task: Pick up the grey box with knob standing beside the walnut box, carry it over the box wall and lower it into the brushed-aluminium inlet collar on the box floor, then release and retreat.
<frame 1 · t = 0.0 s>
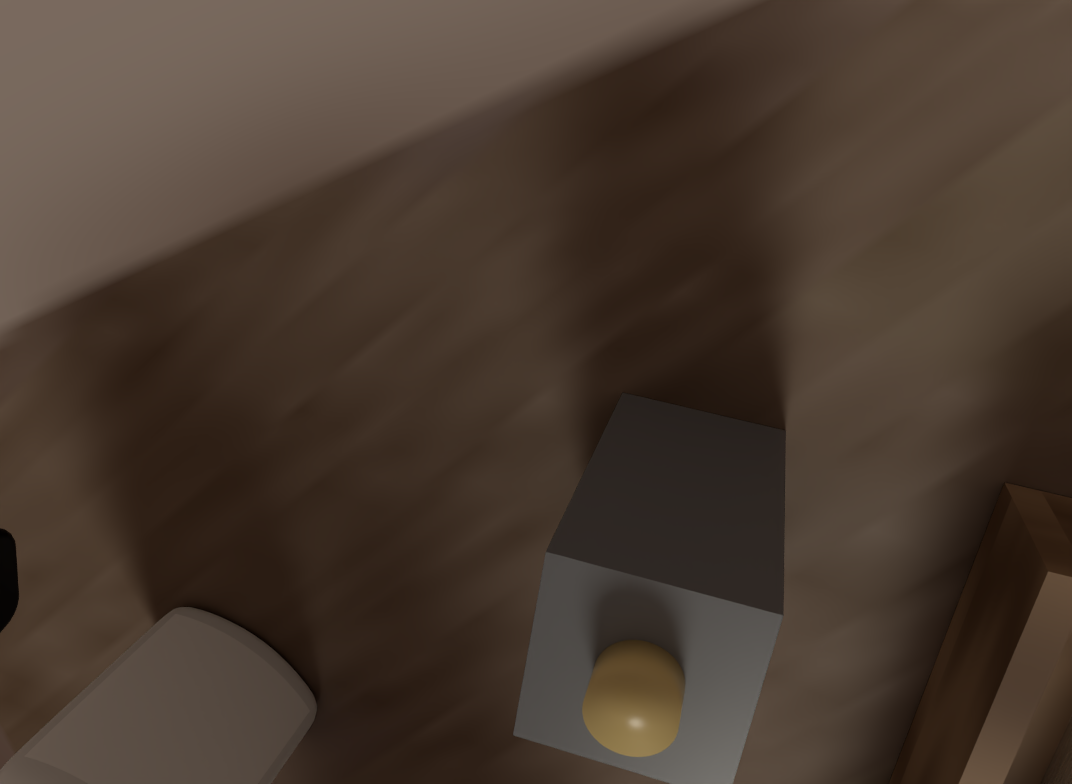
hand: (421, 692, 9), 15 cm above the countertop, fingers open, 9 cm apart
eye dropper bottle: (243, 666, 30), on the countertop
grey box with knob: (685, 483, 24), on the countertop
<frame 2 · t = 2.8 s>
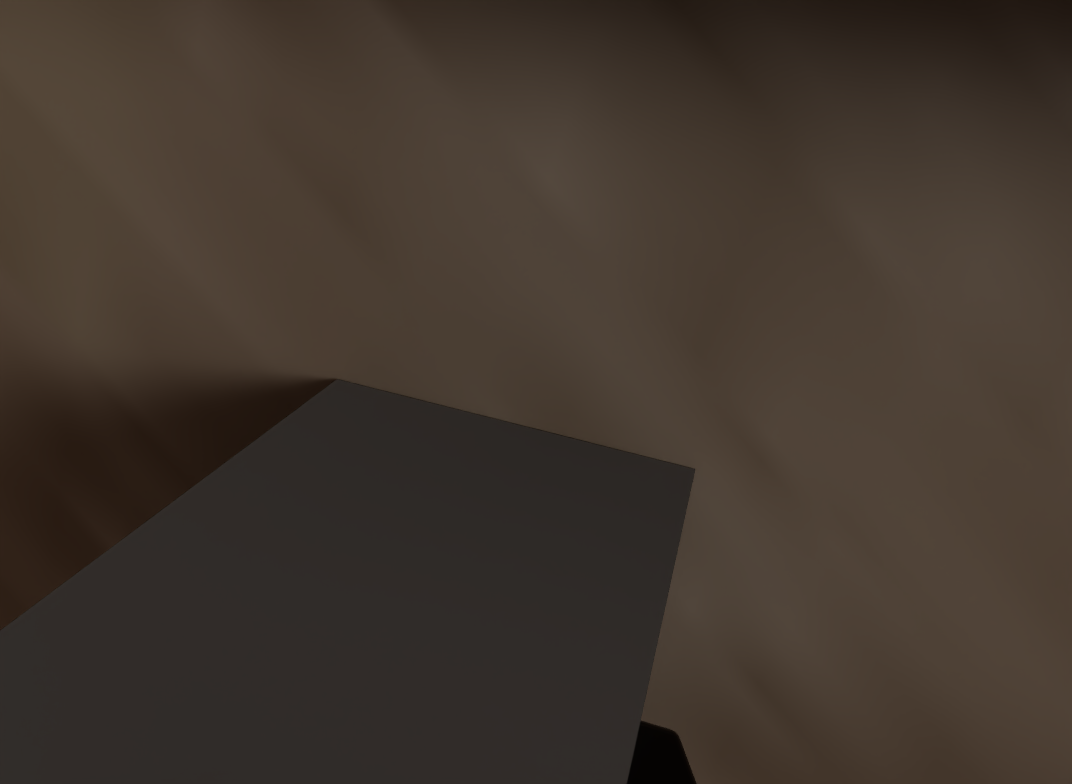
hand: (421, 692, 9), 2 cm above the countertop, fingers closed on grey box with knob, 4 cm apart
grey box with knob: (484, 579, 11), on the countertop, touching gripper
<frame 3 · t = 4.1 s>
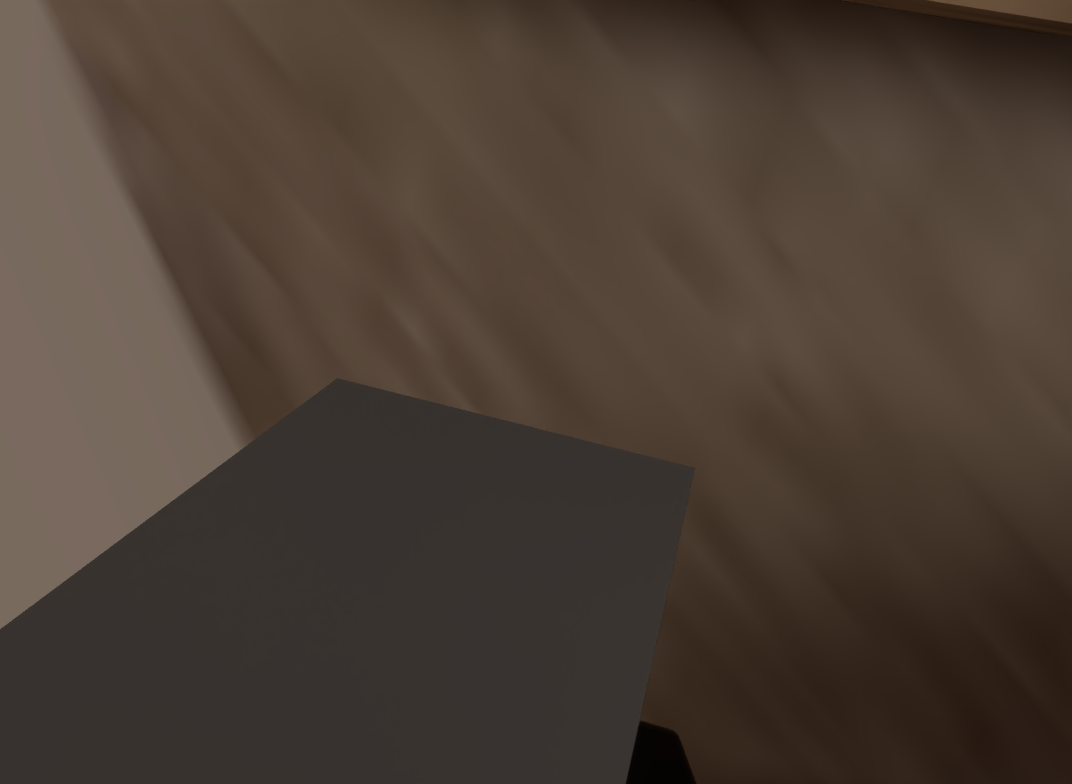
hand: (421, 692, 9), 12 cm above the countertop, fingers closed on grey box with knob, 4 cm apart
grey box with knob: (484, 578, 11), point 10 cm above the countertop, touching gripper
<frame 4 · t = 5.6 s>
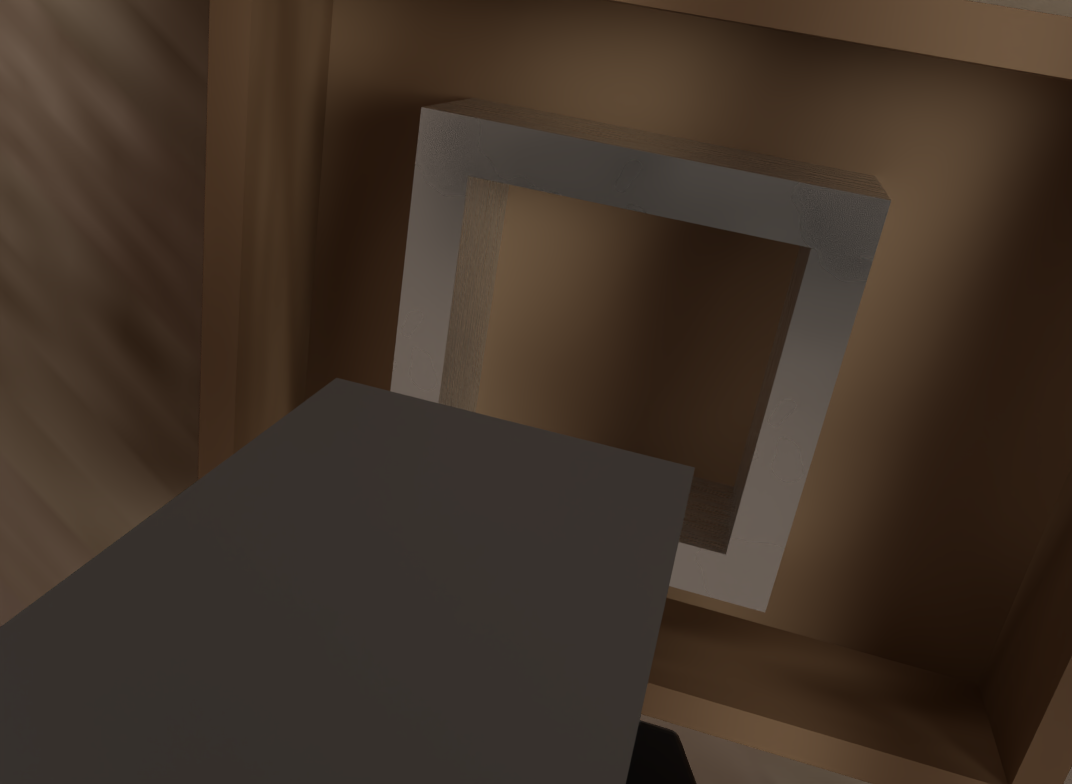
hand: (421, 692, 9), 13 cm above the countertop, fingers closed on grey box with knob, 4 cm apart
inlet collar: (632, 317, 21), resting on walnut box
walnut box: (677, 327, 20), on the countertop
grey box with knob: (484, 578, 11), point 11 cm above the countertop, touching gripper
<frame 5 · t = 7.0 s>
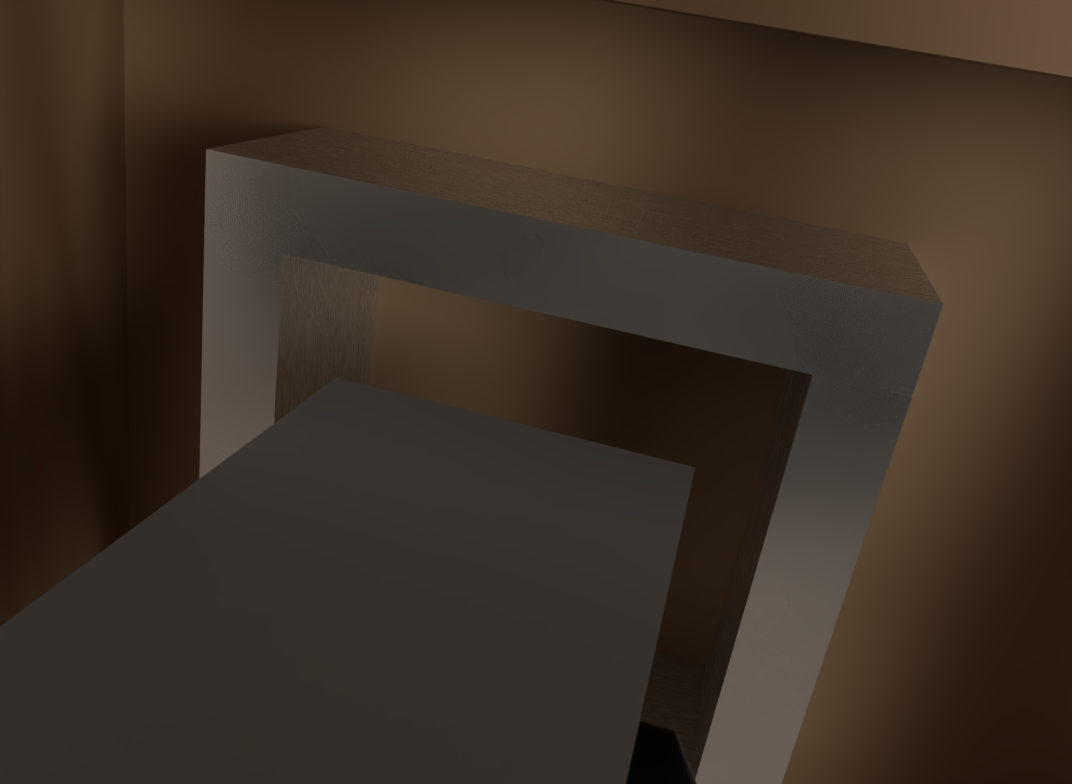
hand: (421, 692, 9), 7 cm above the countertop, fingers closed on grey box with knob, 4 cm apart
inlet collar: (564, 427, 15), resting on walnut box
walnut box: (626, 443, 15), on the countertop
grey box with knob: (484, 578, 11), point 4 cm above the countertop, touching gripper
when the fingers open (4 cm above the countertop, at t = 8.3 s): grey box with knob drops 1 cm, resting on walnut box.
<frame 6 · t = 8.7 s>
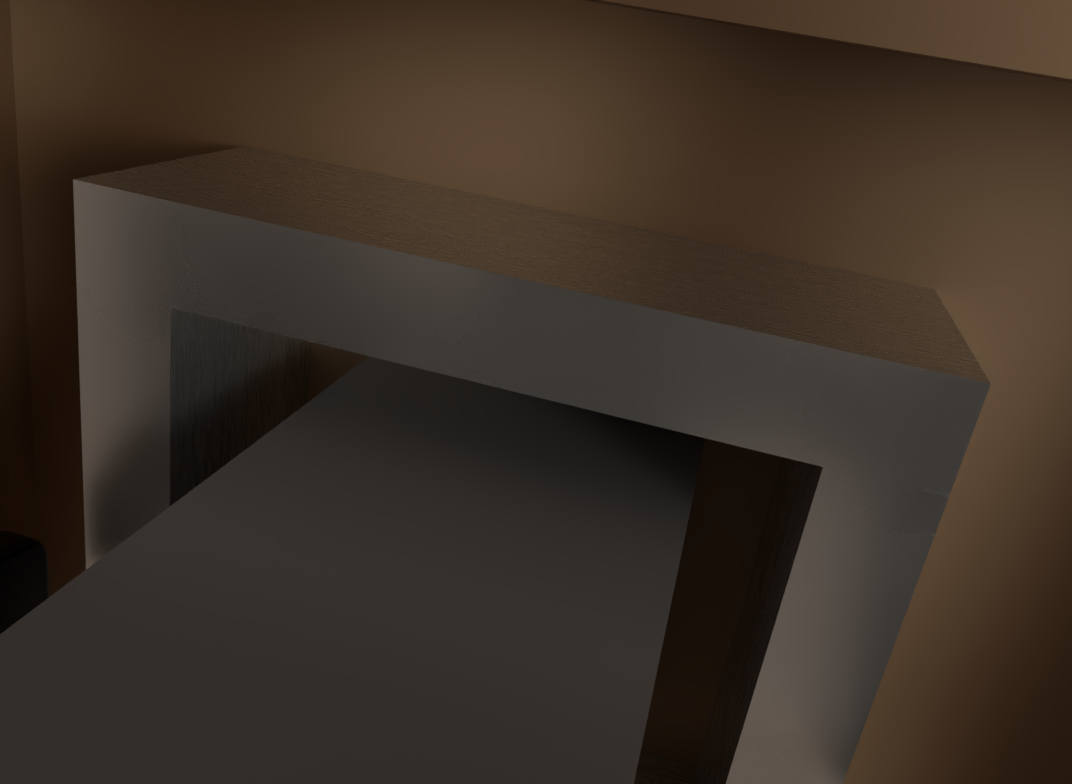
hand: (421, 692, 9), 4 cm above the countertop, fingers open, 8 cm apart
inlet collar: (531, 492, 13), resting on walnut box
walnut box: (602, 510, 13), on the countertop
grey box with knob: (520, 520, 12), point 1 cm above the countertop, touching walnut box
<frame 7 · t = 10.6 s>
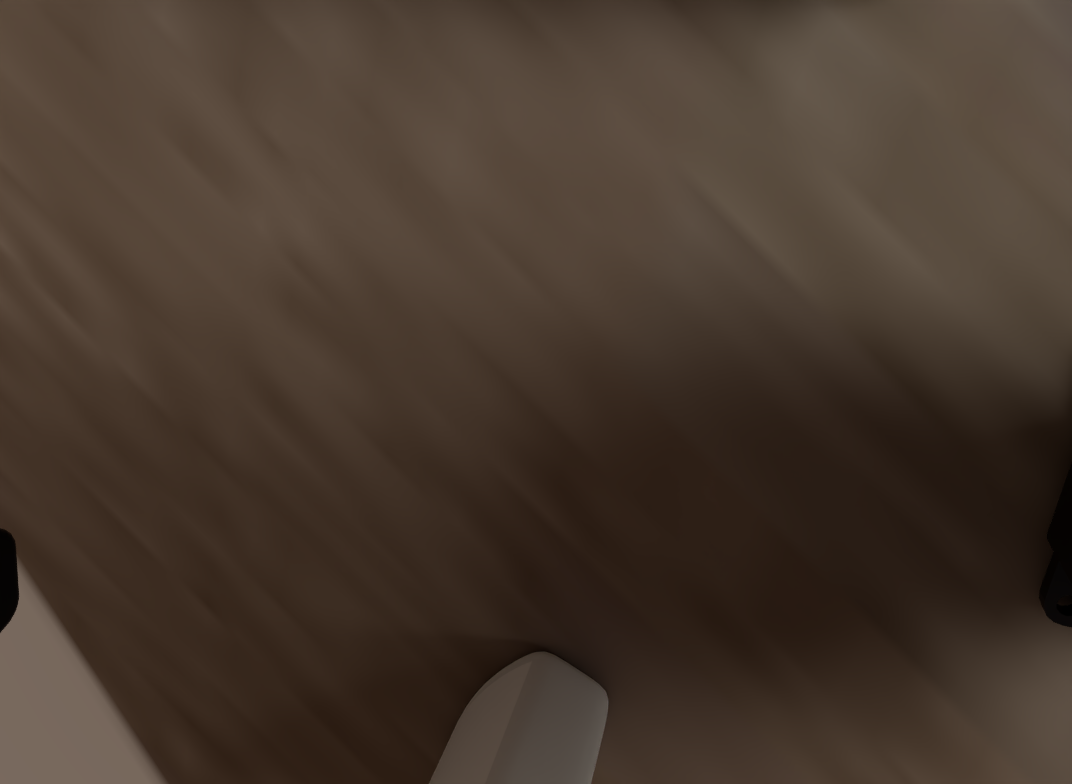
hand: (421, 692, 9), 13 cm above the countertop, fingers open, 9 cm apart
eye dropper bottle: (529, 723, 25), on the countertop
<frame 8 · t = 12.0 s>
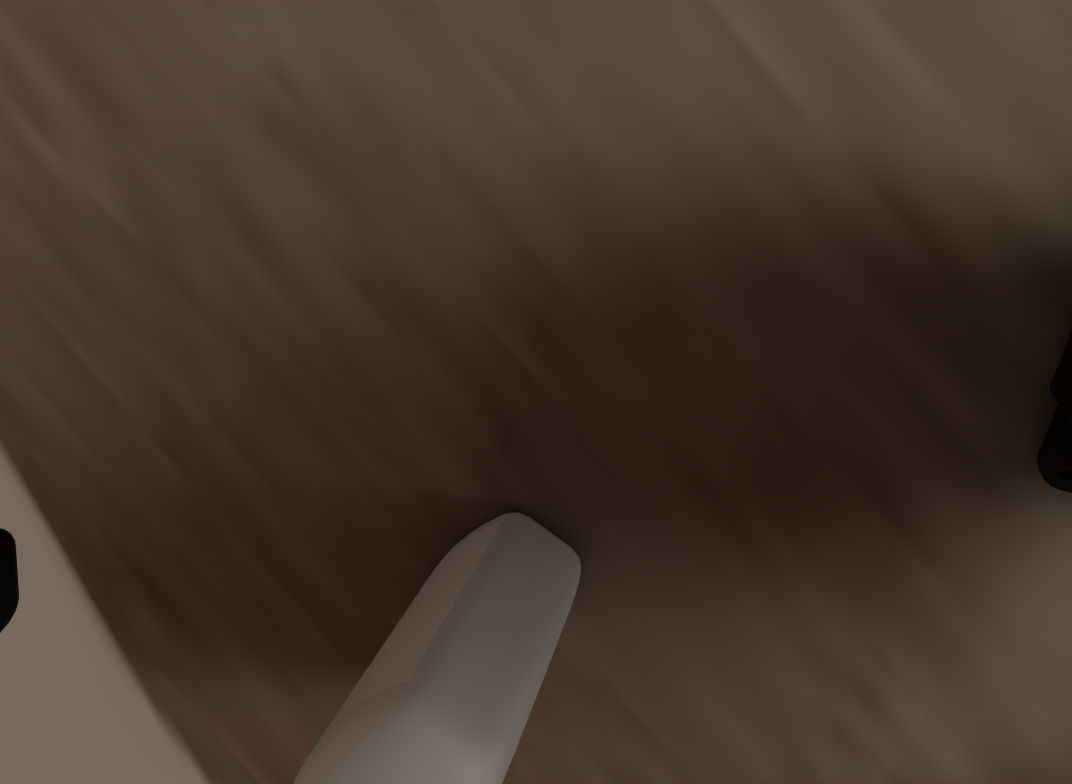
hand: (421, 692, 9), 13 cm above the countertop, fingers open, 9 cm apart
eye dropper bottle: (497, 593, 24), on the countertop
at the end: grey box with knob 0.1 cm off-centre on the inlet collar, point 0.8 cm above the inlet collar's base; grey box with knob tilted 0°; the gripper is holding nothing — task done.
